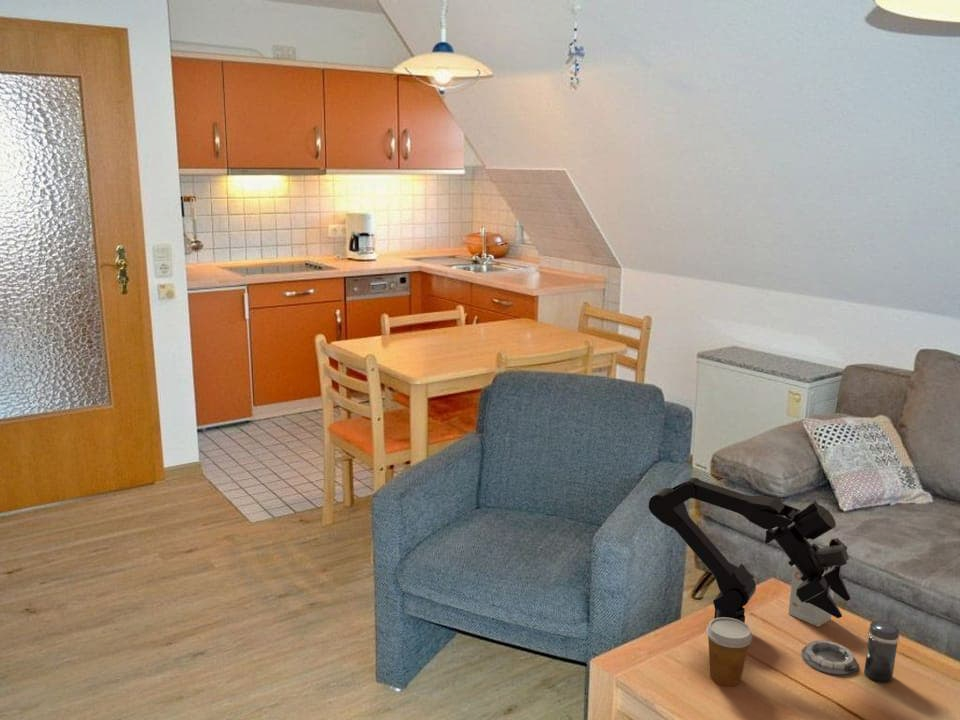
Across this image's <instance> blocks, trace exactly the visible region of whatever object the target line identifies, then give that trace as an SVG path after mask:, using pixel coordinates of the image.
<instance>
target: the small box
mask: <svg viewBox="0 0 960 720" xmlns="http://www.w3.org/2000/svg"><path fill="white" fill-rule="evenodd" d="M792 566H793V569H792V574H791V575H792V576H791V585H790V594H789V604H788V614H789V615H790V616H793V617H794V618H797V619H799V620H802V621H804V622H807V623H808V624H810V625H813V626H815V627H817V628H818V627H820V626H822V625H824V624H826V623H827V622H828V621H830V620H831V619H832V615H831V614H829V613H827V612H826V611H824V610H822V609H820V608H818V607H816V606H814V605H812V604H810V603H805V601H804V602H801V601H800V600H799V598H798V597H797V596H796V591H797V588H798V587H799V585H800V584H801V583H803V581H802V580H801V579H800V578H801V576H802V574H801V573H800V572H799V571H798V569H797V568H796V567H795V565H792ZM807 580H808V579H807ZM829 594H830V596H831V598H832V599H833V600H834V595H835V592H834V591H832V590H831V589H830V592H829Z"/></svg>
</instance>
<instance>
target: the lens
mask: <svg viewBox="0 0 960 720" xmlns="http://www.w3.org/2000/svg"><path fill="white" fill-rule="evenodd" d="M867 640H868V641H867V647H866V654H865V662H864V669H863V674H864V676H865V677H866V678H867V679H869V680H871V681H872V682H874V683H877V684H889V683H892V681H893V676H894V668H895V663H896V658H897V657H896V655H897V649H898V643H899V642H900V641H899V640H900V629H899V628H898V627H897V626H895V625H893V624H892V623H889V622H886V621H880V620H879V621H878V620H877V621H872V622H871V623H870V626H869V629H868V639H867Z"/></svg>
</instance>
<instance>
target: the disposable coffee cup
mask: <svg viewBox="0 0 960 720" xmlns="http://www.w3.org/2000/svg"><path fill="white" fill-rule="evenodd" d="M705 630H706V634H707V638H708V652H709V653H708V659H709V660H708V661H709V678H710V679H711V680H712V681H713V682H714V683H716V684H718V685H720V686H725V687H734V686H735V687H736V686H737V685H739V684H740V683H741V679H742V675H743V670H744V667H745V663H746V660H747V659H746V658H747V654H748V651H749V646H750V644H751V642H752V641H753V639H754V636H753V634H752V632H751V631H752V630H751V628H750V627H749V625H748V624H746V622H745V623H744V622H742V621H740V620H737V619H734V618H727V617H719V618H715V619H714V618H713V619H711V620H710V621H709V623H708V625H707V626H706V629H705Z"/></svg>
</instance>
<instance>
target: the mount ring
mask: <svg viewBox="0 0 960 720" xmlns="http://www.w3.org/2000/svg"><path fill="white" fill-rule="evenodd" d="M800 655H801V658H803V659H802V660H803V661H804V662H806V663H805V664H807V665H808V666H809V667H810V668H812V669H814V670H816V671H819V672H821V673H823V674H827V675H831V676H847V675H852V674H853V673H855V672H856V671H857V668H858V661H857V659H856V658H855V656H854V654H853V652H851V650H850V649H849V648H847V647H845V646H844V645H841V644H840V643H837V642H833V641H829V640H818V639H817V640H813V641H811V642H808V643H807V645H806V646H804V647H803V648H802V650H801V654H800Z"/></svg>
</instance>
